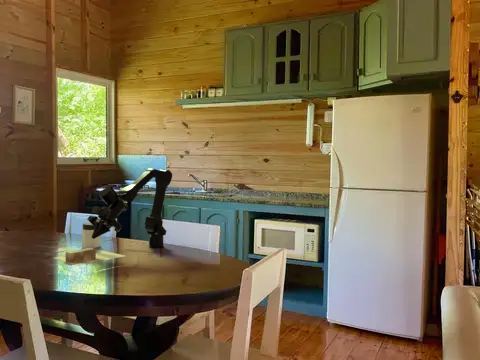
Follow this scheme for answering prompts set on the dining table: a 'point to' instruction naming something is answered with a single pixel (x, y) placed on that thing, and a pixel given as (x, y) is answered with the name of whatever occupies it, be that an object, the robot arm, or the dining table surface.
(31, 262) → the dining table surface
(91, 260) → the board
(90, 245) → the jar
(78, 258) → the block
